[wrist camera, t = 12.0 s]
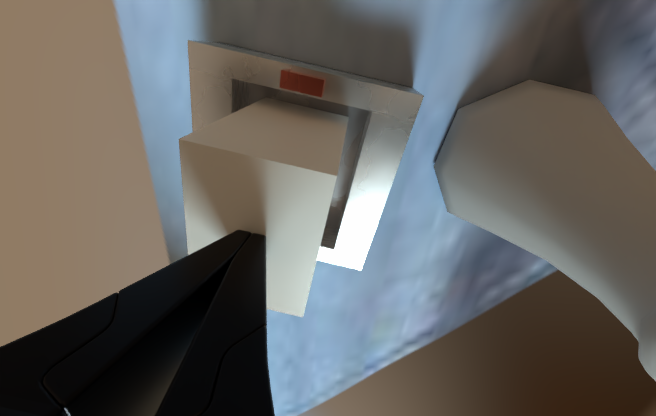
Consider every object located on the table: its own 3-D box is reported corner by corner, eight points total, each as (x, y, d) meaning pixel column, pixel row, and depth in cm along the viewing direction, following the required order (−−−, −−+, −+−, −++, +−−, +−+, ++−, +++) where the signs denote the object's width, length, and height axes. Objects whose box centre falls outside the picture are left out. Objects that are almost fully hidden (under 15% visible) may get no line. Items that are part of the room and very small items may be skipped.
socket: (361, 242, 17) (360, 276, 14) (219, 209, 17) (193, 238, 14) (413, 87, 12) (426, 97, 10) (218, 42, 12) (180, 39, 10)
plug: (326, 214, 16) (303, 317, 10) (257, 198, 16) (190, 291, 9) (348, 117, 13) (337, 176, 7) (265, 97, 13) (178, 138, 7)
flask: (437, 88, 12) (613, 176, 4) (622, 67, 11) (1499, 123, 3) (428, 223, 16) (507, 430, 7) (568, 218, 15) (861, 454, 6)
